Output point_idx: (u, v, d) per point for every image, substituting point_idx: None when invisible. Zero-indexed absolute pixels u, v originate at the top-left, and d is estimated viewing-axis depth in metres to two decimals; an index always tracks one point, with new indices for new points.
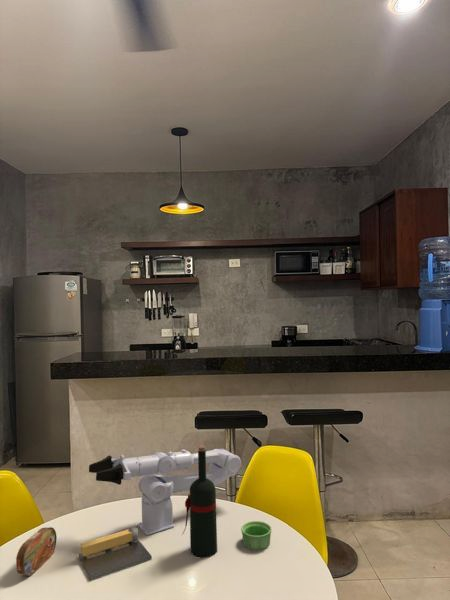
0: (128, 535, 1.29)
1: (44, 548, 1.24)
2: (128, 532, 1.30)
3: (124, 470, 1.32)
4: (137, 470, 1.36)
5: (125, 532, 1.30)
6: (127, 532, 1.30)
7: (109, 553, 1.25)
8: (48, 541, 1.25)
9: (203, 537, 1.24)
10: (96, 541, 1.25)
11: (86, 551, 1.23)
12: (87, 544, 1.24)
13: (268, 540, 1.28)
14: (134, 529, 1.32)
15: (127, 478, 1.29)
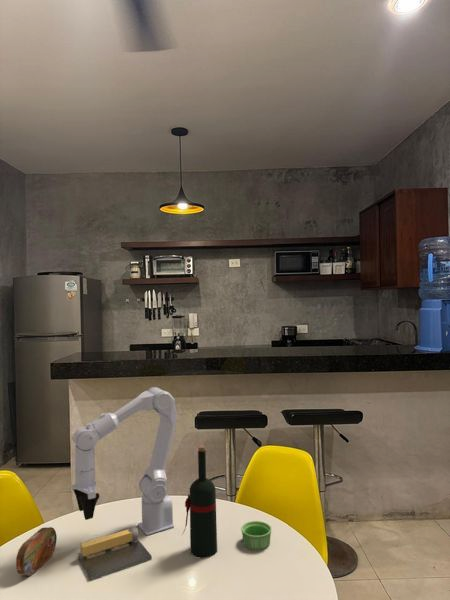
0: (128, 535, 1.29)
1: (44, 548, 1.24)
2: (128, 532, 1.30)
3: None
4: (87, 473, 1.29)
5: (125, 532, 1.30)
6: (127, 532, 1.30)
7: (109, 553, 1.25)
8: (48, 541, 1.25)
9: (203, 537, 1.24)
10: (96, 541, 1.25)
11: (86, 551, 1.23)
12: (87, 544, 1.24)
13: (268, 540, 1.28)
14: (134, 529, 1.32)
15: (94, 494, 1.25)
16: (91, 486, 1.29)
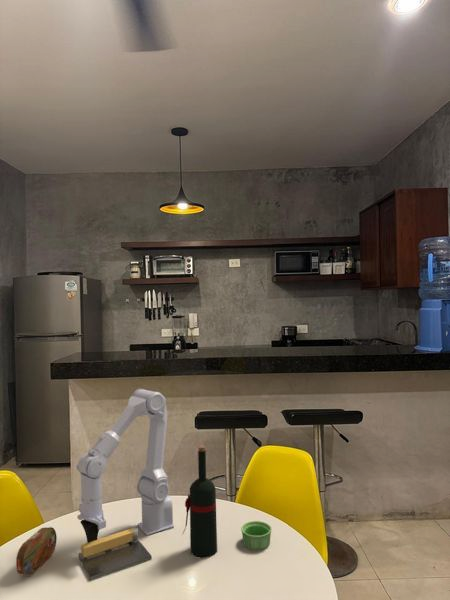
0: (128, 535, 1.29)
1: (44, 548, 1.24)
2: (128, 532, 1.30)
3: None
4: (95, 502, 1.24)
5: (125, 532, 1.30)
6: (127, 532, 1.30)
7: (109, 553, 1.25)
8: (48, 541, 1.25)
9: (203, 537, 1.24)
10: (96, 541, 1.25)
11: (87, 552, 1.22)
12: (88, 545, 1.23)
13: (268, 540, 1.28)
14: (134, 529, 1.32)
15: (104, 524, 1.21)
16: (99, 515, 1.24)
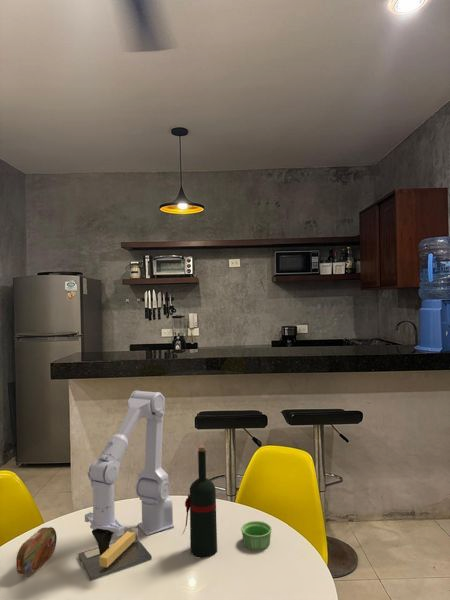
0: (133, 535, 1.29)
1: (44, 548, 1.24)
2: (131, 533, 1.30)
3: None
4: (110, 509, 1.19)
5: (128, 534, 1.29)
6: (130, 533, 1.29)
7: None
8: (48, 541, 1.25)
9: (203, 537, 1.24)
10: (111, 549, 1.21)
11: (109, 561, 1.18)
12: (107, 554, 1.18)
13: (268, 540, 1.28)
14: (133, 529, 1.32)
15: (123, 530, 1.17)
16: (113, 522, 1.20)
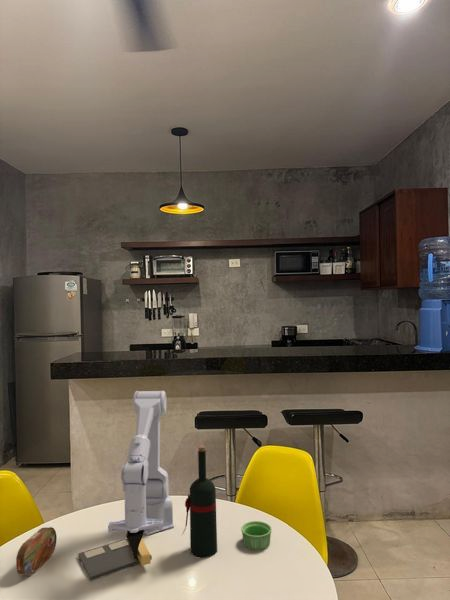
0: None
1: (44, 548, 1.24)
2: None
3: None
4: (146, 508, 1.20)
5: None
6: None
7: (109, 553, 1.25)
8: (48, 541, 1.25)
9: (203, 537, 1.24)
10: (142, 548, 1.21)
11: None
12: (146, 552, 1.19)
13: (268, 540, 1.28)
14: None
15: (162, 523, 1.20)
16: (146, 521, 1.21)
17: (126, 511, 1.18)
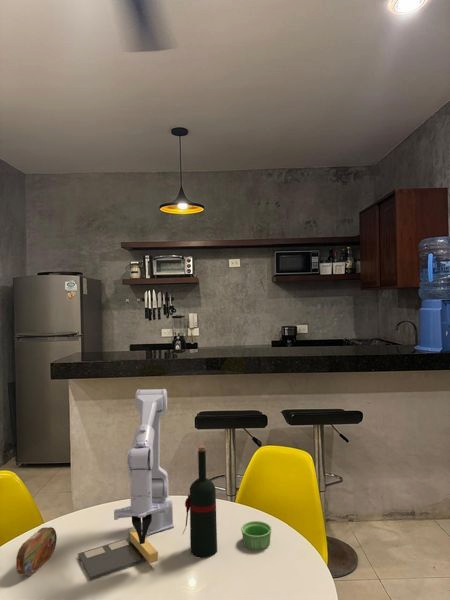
0: None
1: (44, 548, 1.24)
2: None
3: None
4: (151, 493, 1.20)
5: (136, 533, 1.29)
6: (136, 532, 1.30)
7: (109, 553, 1.25)
8: (48, 541, 1.25)
9: (203, 537, 1.24)
10: (147, 546, 1.22)
11: None
12: (152, 550, 1.20)
13: (268, 540, 1.28)
14: (132, 529, 1.32)
15: None
16: (151, 505, 1.21)
17: (133, 497, 1.18)
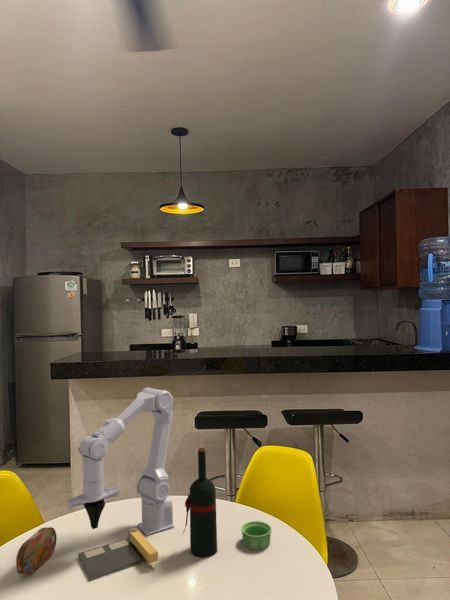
0: None
1: (44, 548, 1.24)
2: (136, 531, 1.30)
3: None
4: (83, 483, 1.24)
5: (136, 533, 1.29)
6: (136, 532, 1.30)
7: (109, 553, 1.25)
8: (48, 541, 1.25)
9: (203, 537, 1.24)
10: (147, 546, 1.22)
11: None
12: (152, 550, 1.20)
13: (268, 540, 1.28)
14: (132, 529, 1.32)
15: (67, 505, 1.21)
16: (84, 499, 1.23)
17: None
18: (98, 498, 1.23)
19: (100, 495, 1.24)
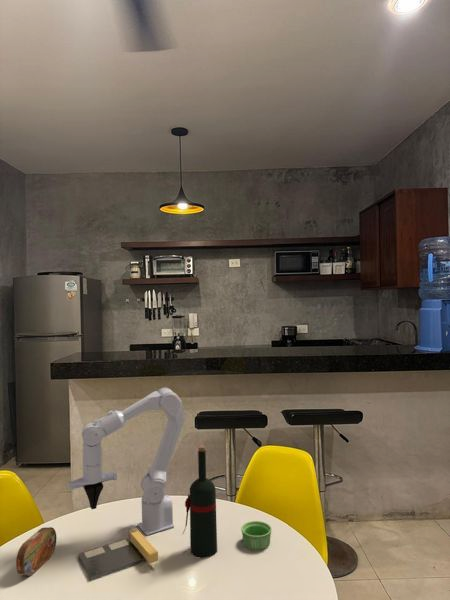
0: None
1: (44, 548, 1.24)
2: (136, 531, 1.30)
3: None
4: (83, 467, 1.34)
5: (136, 533, 1.29)
6: (136, 532, 1.30)
7: (109, 553, 1.25)
8: (48, 541, 1.25)
9: (203, 537, 1.24)
10: (147, 546, 1.22)
11: None
12: (152, 550, 1.20)
13: (268, 540, 1.28)
14: (132, 529, 1.32)
15: (68, 487, 1.31)
16: (84, 481, 1.33)
17: None
18: (97, 481, 1.33)
19: (99, 478, 1.34)
